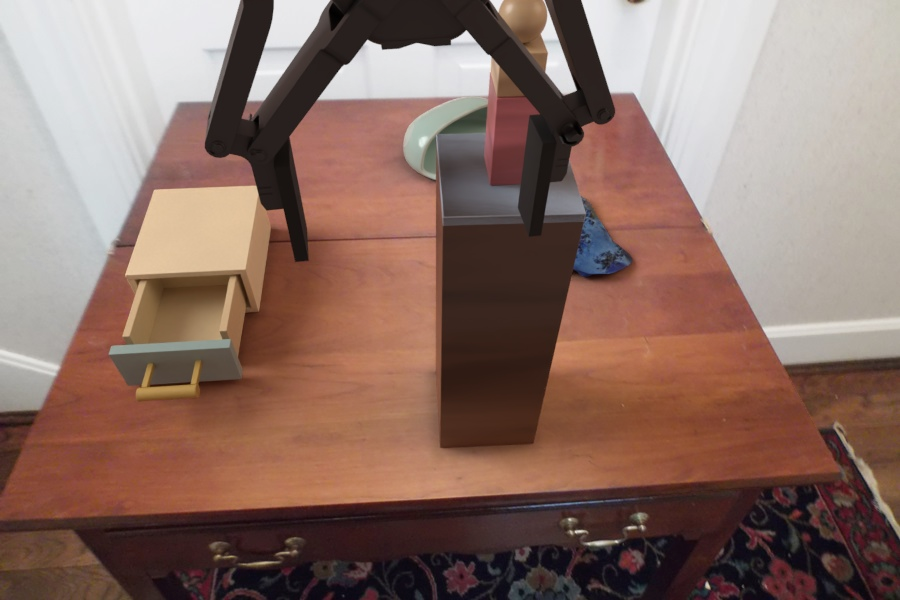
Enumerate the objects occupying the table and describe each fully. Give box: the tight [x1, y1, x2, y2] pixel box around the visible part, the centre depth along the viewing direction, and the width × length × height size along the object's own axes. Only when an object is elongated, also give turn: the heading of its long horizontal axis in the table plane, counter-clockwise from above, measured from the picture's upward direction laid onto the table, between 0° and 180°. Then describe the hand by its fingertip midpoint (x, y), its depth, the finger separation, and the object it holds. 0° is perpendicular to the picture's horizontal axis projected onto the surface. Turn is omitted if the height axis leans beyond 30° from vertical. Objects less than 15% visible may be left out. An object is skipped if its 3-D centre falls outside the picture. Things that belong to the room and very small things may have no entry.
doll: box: [484, 0, 549, 185], centre depth 43 cm, size 4×3×13 cm
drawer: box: [108, 274, 248, 402], centre depth 73 cm, size 19×12×6 cm, turn 5°
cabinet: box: [124, 185, 272, 314], centre depth 82 cm, size 16×14×8 cm
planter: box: [402, 95, 488, 181], centre depth 101 cm, size 19×7×16 cm
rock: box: [573, 195, 633, 278], centre depth 89 cm, size 15×17×2 cm
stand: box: [435, 133, 586, 449], centre depth 60 cm, size 10×10×32 cm
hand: (417, 233), depth 38 cm, fingers open, 13 cm apart
